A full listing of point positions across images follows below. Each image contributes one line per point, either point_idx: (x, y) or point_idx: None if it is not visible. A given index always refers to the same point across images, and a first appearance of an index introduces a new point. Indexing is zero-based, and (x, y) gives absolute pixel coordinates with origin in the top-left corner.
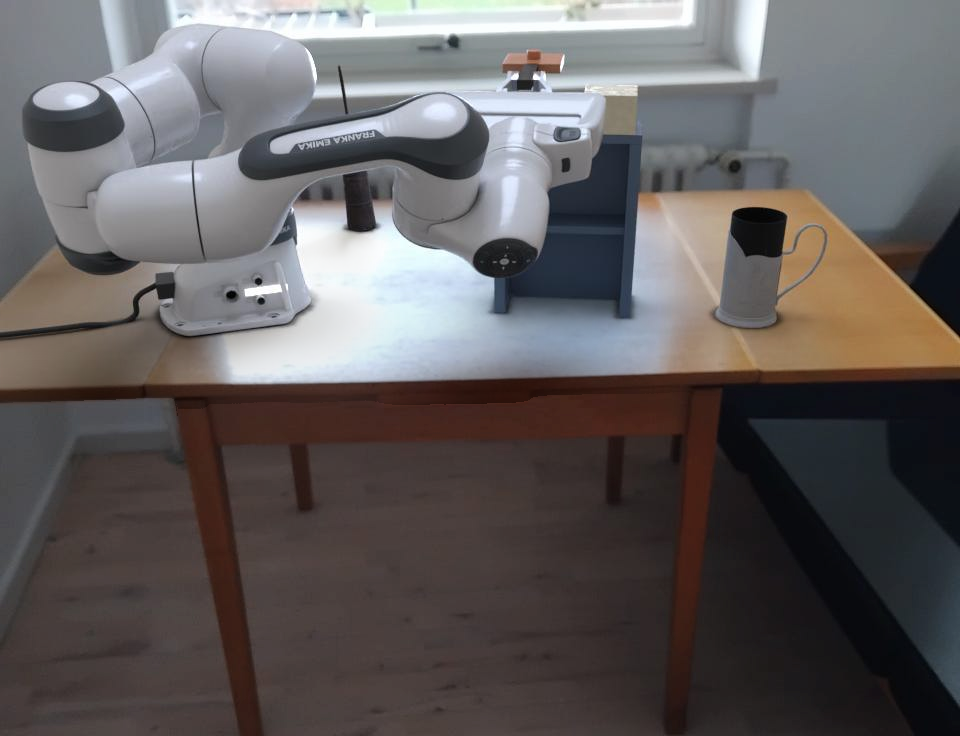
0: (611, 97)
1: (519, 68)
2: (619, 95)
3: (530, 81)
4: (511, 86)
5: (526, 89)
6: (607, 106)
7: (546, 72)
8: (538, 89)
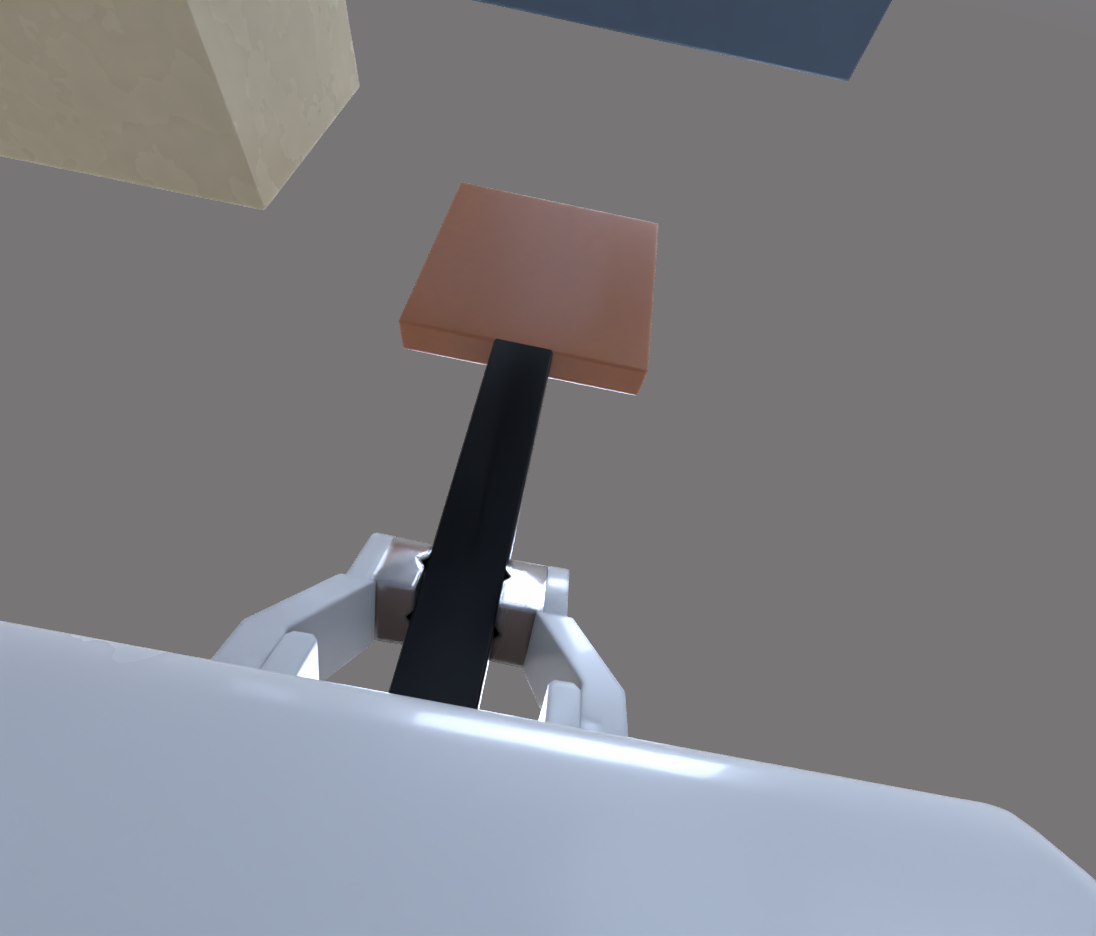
0: (114, 171)
1: (571, 370)
2: (80, 171)
3: None
4: (532, 645)
5: None
6: (105, 124)
7: (457, 337)
8: (381, 589)
